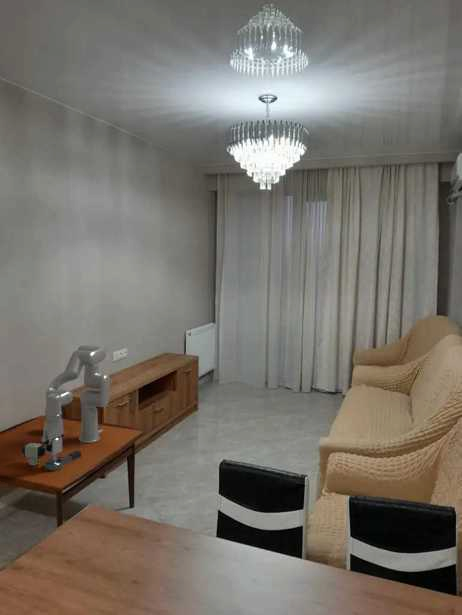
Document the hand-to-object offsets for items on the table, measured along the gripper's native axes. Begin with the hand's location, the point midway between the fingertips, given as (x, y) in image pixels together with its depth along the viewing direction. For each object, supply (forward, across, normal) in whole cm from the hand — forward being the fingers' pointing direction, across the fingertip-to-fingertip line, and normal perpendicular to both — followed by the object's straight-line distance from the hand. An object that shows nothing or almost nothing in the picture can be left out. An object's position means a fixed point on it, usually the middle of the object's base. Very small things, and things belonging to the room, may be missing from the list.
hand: (53, 448), depth 250 cm
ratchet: (+11, -7, 0) cm, 12 cm away
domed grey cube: (+2, 0, 0) cm, 2 cm away
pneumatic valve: (+11, +3, -12) cm, 16 cm away
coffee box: (+11, -33, -38) cm, 51 cm away
